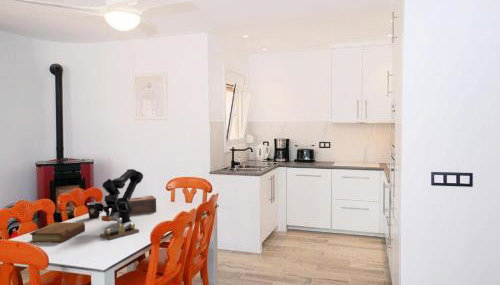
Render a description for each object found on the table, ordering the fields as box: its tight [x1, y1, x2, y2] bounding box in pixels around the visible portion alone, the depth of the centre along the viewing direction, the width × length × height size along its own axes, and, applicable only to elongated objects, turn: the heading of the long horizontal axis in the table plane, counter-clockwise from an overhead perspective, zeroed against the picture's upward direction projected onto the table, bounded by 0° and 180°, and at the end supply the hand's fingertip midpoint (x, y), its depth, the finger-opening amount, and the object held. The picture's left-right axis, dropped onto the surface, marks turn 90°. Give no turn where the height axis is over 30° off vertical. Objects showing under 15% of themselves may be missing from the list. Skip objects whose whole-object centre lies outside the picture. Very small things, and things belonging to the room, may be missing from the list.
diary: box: [29, 221, 86, 244], centre depth 214 cm, size 23×19×6 cm
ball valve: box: [99, 222, 140, 240], centre depth 216 cm, size 19×10×7 cm, turn 140°
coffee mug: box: [86, 201, 104, 220], centre depth 258 cm, size 12×9×10 cm
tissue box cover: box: [118, 195, 157, 216], centre depth 275 cm, size 26×14×10 cm, turn 116°
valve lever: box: [101, 215, 122, 224], centre depth 219 cm, size 3×15×3 cm, turn 63°
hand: (108, 219), depth 222 cm, fingers closed
